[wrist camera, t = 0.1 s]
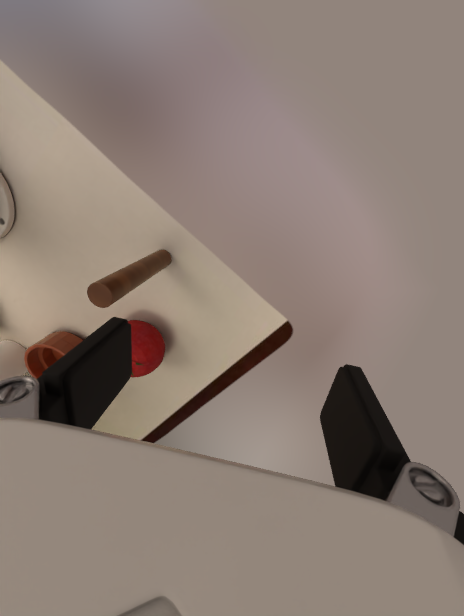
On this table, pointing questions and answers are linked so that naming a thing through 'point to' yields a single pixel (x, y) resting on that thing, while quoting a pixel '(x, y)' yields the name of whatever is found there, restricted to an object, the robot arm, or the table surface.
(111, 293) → the stirring stick
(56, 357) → the bowl
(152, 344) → the tomato
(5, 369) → the cylindrical container
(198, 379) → the table surface
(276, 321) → the table surface
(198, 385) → the table surface
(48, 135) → the table surface
